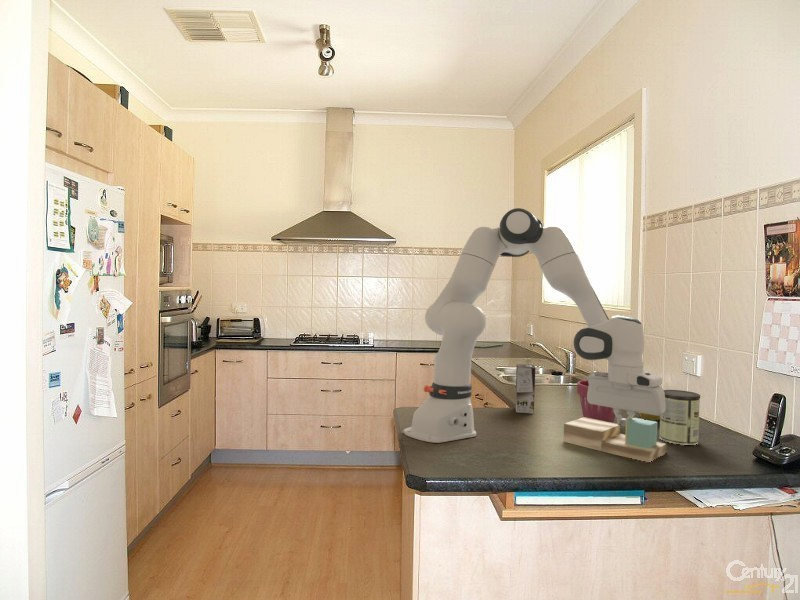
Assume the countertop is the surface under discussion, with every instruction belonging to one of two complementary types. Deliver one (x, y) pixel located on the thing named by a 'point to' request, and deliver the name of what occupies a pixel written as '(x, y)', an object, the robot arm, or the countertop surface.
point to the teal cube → (641, 432)
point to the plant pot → (593, 405)
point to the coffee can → (680, 418)
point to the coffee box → (525, 388)
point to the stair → (607, 439)
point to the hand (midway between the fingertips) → (623, 425)
